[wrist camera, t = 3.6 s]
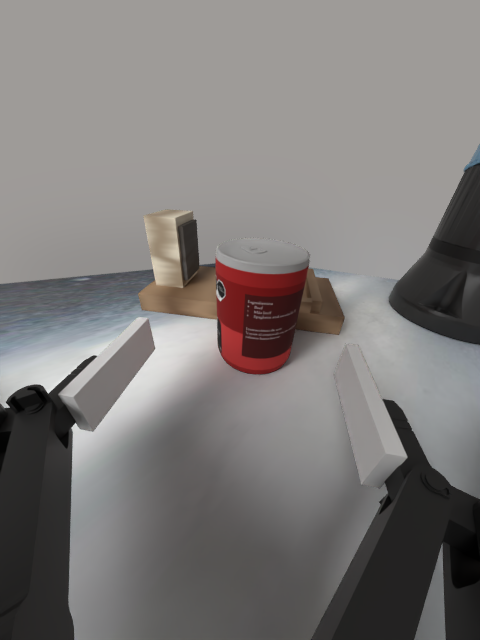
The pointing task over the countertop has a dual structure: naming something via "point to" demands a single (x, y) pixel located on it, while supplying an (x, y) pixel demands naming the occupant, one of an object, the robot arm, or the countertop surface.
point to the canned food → (258, 301)
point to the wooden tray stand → (214, 278)
